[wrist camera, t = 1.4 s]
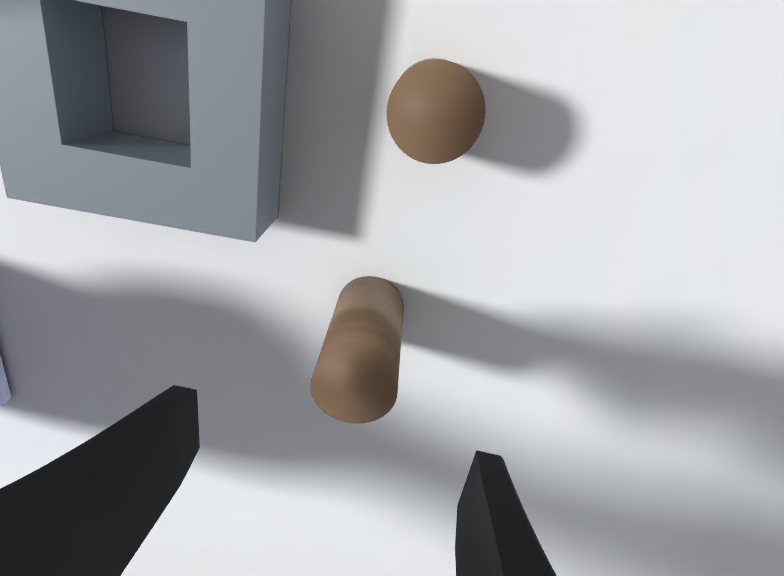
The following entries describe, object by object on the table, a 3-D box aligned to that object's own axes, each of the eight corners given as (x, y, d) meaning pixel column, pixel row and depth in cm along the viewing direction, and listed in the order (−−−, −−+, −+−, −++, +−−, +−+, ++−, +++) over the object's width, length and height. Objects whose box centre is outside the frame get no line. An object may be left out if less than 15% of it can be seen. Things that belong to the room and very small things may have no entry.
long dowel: (397, 338, 22) (389, 429, 17) (334, 327, 22) (307, 415, 17) (408, 283, 21) (404, 362, 15) (342, 270, 21) (314, 346, 15)
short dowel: (462, 151, 18) (471, 171, 15) (386, 136, 18) (379, 154, 15) (482, 67, 17) (496, 70, 14) (400, 51, 17) (395, 50, 14)
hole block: (277, 216, 20) (255, 242, 17) (63, 177, 19) (6, 197, 17) (293, -38, 16) (266, -57, 13) (23, -91, 15) (-61, -121, 13)
